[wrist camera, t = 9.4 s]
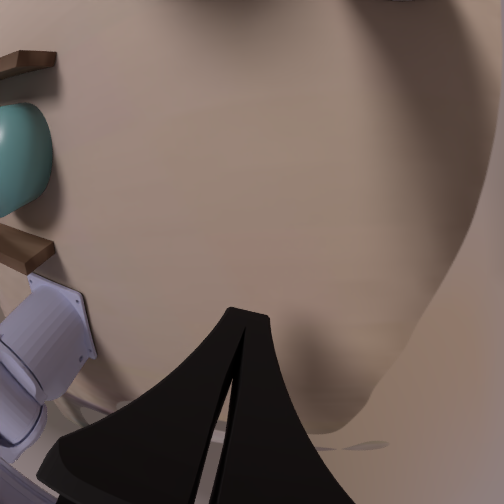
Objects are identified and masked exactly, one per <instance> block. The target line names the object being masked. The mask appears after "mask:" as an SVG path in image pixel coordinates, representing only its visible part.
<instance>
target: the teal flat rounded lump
mask: <svg viewBox="0 0 504 504" xmlns="http://www.w3.org/2000/svg"><path fill="white" fill-rule="evenodd" d="M51 168H52V141H51V135H50V131H49V127H48V124H47V122H46V119H45V117H44V116H43V114H42V112H41V111H40V110H39V109H38V108H37V107H36V106H35V105H33V104H31V103H26V102H25V103H18V104H12V105H7V106H1V107H0V218H1V217H4V216H6V215H8V214H10V213H11V212H13V211H15V210H17V209H18V208H20V207H22V206H24V205H26V204H27V203H29V202H31V201H33V200H35V199H37V198H38V197H39V196H40V195H41V194H42V193H43V191H44V190H45V188H46V186H47V184H48V181H49V178H50V174H51Z"/></svg>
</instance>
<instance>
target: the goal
mask: <svg viewBox="0 0 504 504" xmlns="http://www.w3.org/2000/svg"><path fill="white" fill-rule="evenodd" d="M55 57H56V52H49V51H27V50H19V51H16V52H13V53H11V54H8V55H6V56H3V57H1V58H0V80H2V79H5V78H8V77H12V76H15V75H19V74H23V73H26V72H30V71H35V70H39V69H43V68H48V67H53V66H54V63H55ZM54 254H55V250H54V243H53V241H50V240H47V239H44V238H41V237H38V236H35V235H32V234H29V233H26V232H23V231H20V230H18V229H15V228H12V227H9V226H6V225H4V224H1V223H0V263H2V264H4V265H6V266H8V267H10V268H12V269H14V270H16V271H18V272H21V273H23V274H25V275H27V276H28V275H29V274H30V273H31V272H33V271H34V270H35V269H36V268H37V267H39V266H40V265H41V264H42V263H44V262H45V261H46V260H47V259H49V258H50V257H51V256H52V255H54Z"/></svg>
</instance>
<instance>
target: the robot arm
mask: <svg viewBox="0 0 504 504" xmlns="http://www.w3.org/2000/svg"><path fill="white" fill-rule="evenodd" d="M27 277H28V281H29V284H30V288H31V291H32V293H31V294H30V295H29V296H28V297H27V298H26V299H25V300H24V301H23V302H22V303H21V304H19V305H18V306H17V307H16V308H15V309H14V310H13V311H12V312H11V313H10V314H9V315H8V316H7V317H6V318H5V319H4V320H3V322H2V323H1V324H0V504H194V502H195V498H196V495H197V490H198V487H199V483H200V479H201V475H202V471H203V467H204V464H205V460H206V456H207V452H208V448H209V445H210V441H211V438H212V435H213V431H214V428H215V426H216V423H217V420H218V418H219V415H220V412H221V409H222V407H223V404H224V401H225V398H226V396H227V393H228V390H229V387H230V384H231V382H232V388H231V396H230V403H229V411H228V418H227V426H226V433H225V439H224V445H223V448H222V452H221V457H220V461H219V465H218V469H217V473H216V477H215V481H214V485H213V489H212V493H211V497H210V500H209V504H355V503H354V502H353V500H352V499H351V498H350V497H349V496H348V495H347V493H346V492H345V491H344V490H343V488H342V487H341V486H340V485H339V483H338V482H337V481H336V479H335V478H334V477H333V475H332V474H331V472H330V471H329V469H328V468H327V467H326V465H325V464H324V462H323V460H322V459H321V458H320V456H319V454H318V452H317V451H316V449H315V447H314V446H313V444H312V442H311V441H310V439H309V437H308V435H307V433H306V431H305V430H304V428H303V426H302V424H301V422H300V420H299V417H298V415H297V413H296V411H295V409H294V406H293V404H292V402H291V399H290V397H289V394H288V391H287V389H286V386H285V383H284V380H283V377H282V374H281V371H280V367H279V364H278V360H277V357H276V353H275V349H274V344H273V339H272V334H271V327H270V318H269V317H268V315H264V314H260V313H255V312H251V311H247V310H243V309H238V308H234V307H229V308H227V309H226V311H225V313H224V315H223V316H222V318H221V319H220V321H219V322H218V323H217V325H216V326H215V327H214V329H213V330H212V331H211V332H210V334H209V335H208V336H207V337H206V338H205V339H204V340H203V342H202V343H201V344H200V345H199V346H198V347H197V348H196V349H195V350H194V351H193V352H192V353H191V354H190V355H189V356H188V357H187V358H186V359H185V360H184V361H183V362H182V363H181V364H180V365H179V366H178V367H177V368H176V369H175V370H174V371H172V372H171V373H170V374H169V375H168V376H167V377H165V378H164V379H163V380H162V381H160V382H159V383H158V384H157V385H155V386H154V387H153V388H151V389H150V390H148V391H147V392H146V393H144V394H143V395H141V396H140V397H139V398H137V399H136V400H134V401H132V402H131V403H129V404H128V405H126V406H124V407H123V408H121V409H120V410H117V411H116V412H114V413H112V414H110V415H108V416H107V417H105V418H103V419H101V420H99V421H97V422H95V423H93V424H91V425H89V426H86V427H84V428H82V429H79V430H77V431H75V432H72V433H70V434H67V435H65V436H62V437H60V438H59V439H58V440H57V442H56V443H55V444H54V445H53V447H52V448H51V449H50V451H49V452H48V453H47V455H46V457H45V459H44V461H43V463H42V464H41V466H40V468H39V470H38V472H37V474H36V476H37V479H38V480H39V481H41V482H42V483H44V484H45V485H46V486H48V487H49V488H51V489H52V490H54V491H56V492H57V493H59V494H60V495H59V497H58V498H56V497H54V496H53V495H51V494H50V493H48V492H47V491H45V490H44V489H42V488H40V487H39V486H38V485H36V484H35V483H33V482H32V481H31V480H29V479H28V478H27V477H25V476H24V475H23V474H21V473H20V472H19V471H17V470H16V469H15V468H13V467H12V466H11V465H10V464H9V463H14V462H15V460H17V459H18V458H19V457H20V455H21V454H22V453H23V452H24V451H25V450H26V449H27V448H29V447H31V446H32V445H33V444H34V443H35V442H36V441H37V440H38V439H39V437H40V436H41V434H42V432H43V430H44V428H45V425H46V422H47V407H46V405H45V403H44V401H51V400H54V399H57V398H59V397H60V396H62V395H63V394H64V393H65V392H66V391H67V389H68V387H69V386H70V384H71V383H72V381H73V380H74V378H75V377H76V375H77V374H78V372H79V371H80V369H81V368H82V366H83V365H84V363H85V362H86V360H87V359H88V358H89V357H90V358H92V359H96V358H97V354H96V351H95V347H94V343H93V340H92V336H91V332H90V328H89V324H88V320H87V315H86V311H85V306H84V301H83V297H82V295H81V293H79V292H77V291H75V290H72V289H70V288H67V287H65V286H62V285H60V284H58V283H55V282H53V281H50V280H48V279H46V278H43V277H41V276H39V275H37V274H34V273H32V272H31V273H30V274H29V275H28V276H27ZM232 379H233V381H232Z"/></svg>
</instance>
